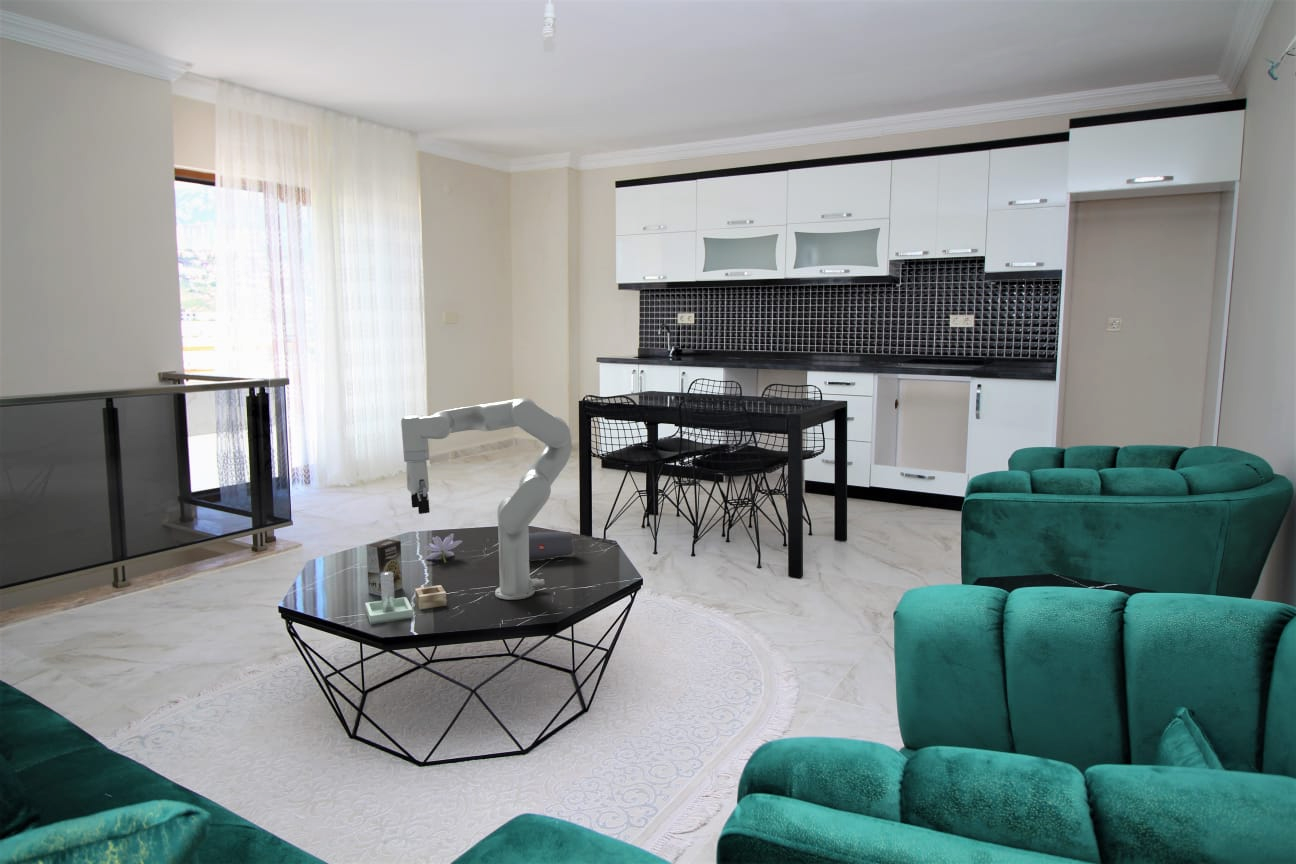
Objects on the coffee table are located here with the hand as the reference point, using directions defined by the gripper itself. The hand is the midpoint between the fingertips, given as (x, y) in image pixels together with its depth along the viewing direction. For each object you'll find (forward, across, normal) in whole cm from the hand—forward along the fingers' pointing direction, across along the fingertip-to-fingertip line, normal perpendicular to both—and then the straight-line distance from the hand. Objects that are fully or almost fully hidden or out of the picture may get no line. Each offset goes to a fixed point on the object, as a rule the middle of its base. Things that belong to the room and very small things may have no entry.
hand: (420, 510), depth 244 cm
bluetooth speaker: (+30, -23, +46) cm, 60 cm away
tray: (+28, +8, -13) cm, 32 cm away
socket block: (+29, +4, 0) cm, 29 cm away
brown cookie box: (+29, -14, -10) cm, 34 cm away
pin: (+28, +8, -13) cm, 32 cm away
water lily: (+29, -40, +15) cm, 52 cm away
